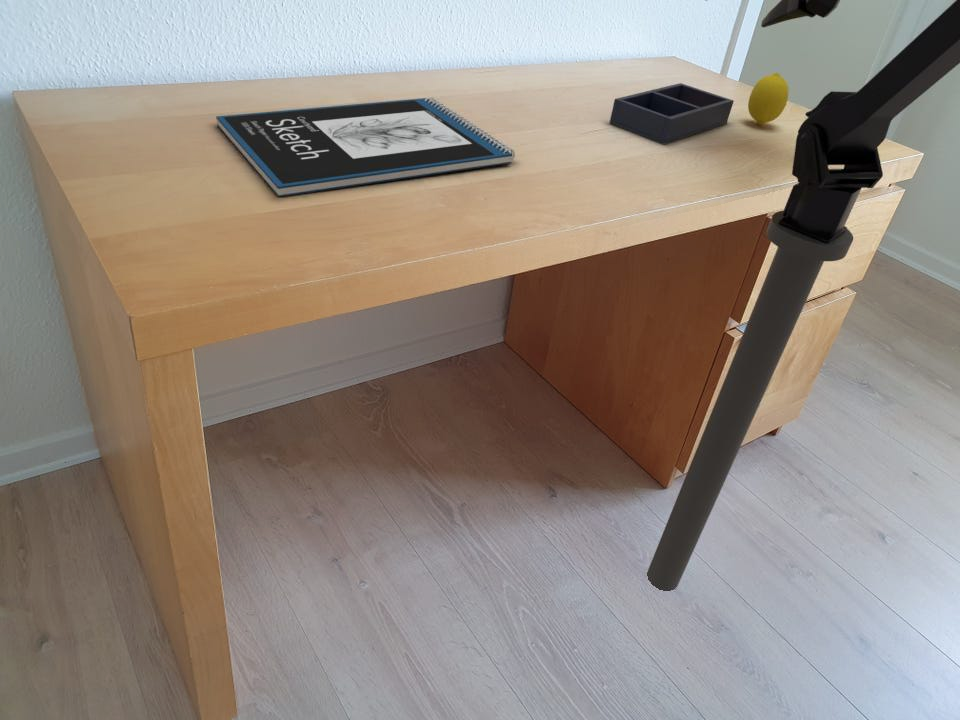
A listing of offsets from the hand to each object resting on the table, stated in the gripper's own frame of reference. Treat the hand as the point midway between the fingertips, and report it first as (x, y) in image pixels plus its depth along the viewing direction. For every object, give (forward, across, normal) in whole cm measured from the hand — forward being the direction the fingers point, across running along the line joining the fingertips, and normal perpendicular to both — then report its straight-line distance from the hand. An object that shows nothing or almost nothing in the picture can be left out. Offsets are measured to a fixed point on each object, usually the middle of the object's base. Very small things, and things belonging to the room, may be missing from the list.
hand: (734, 11), depth 99 cm
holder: (+13, 0, +10) cm, 17 cm away
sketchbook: (+8, +41, +36) cm, 55 cm away
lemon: (+13, -14, +4) cm, 20 cm away
